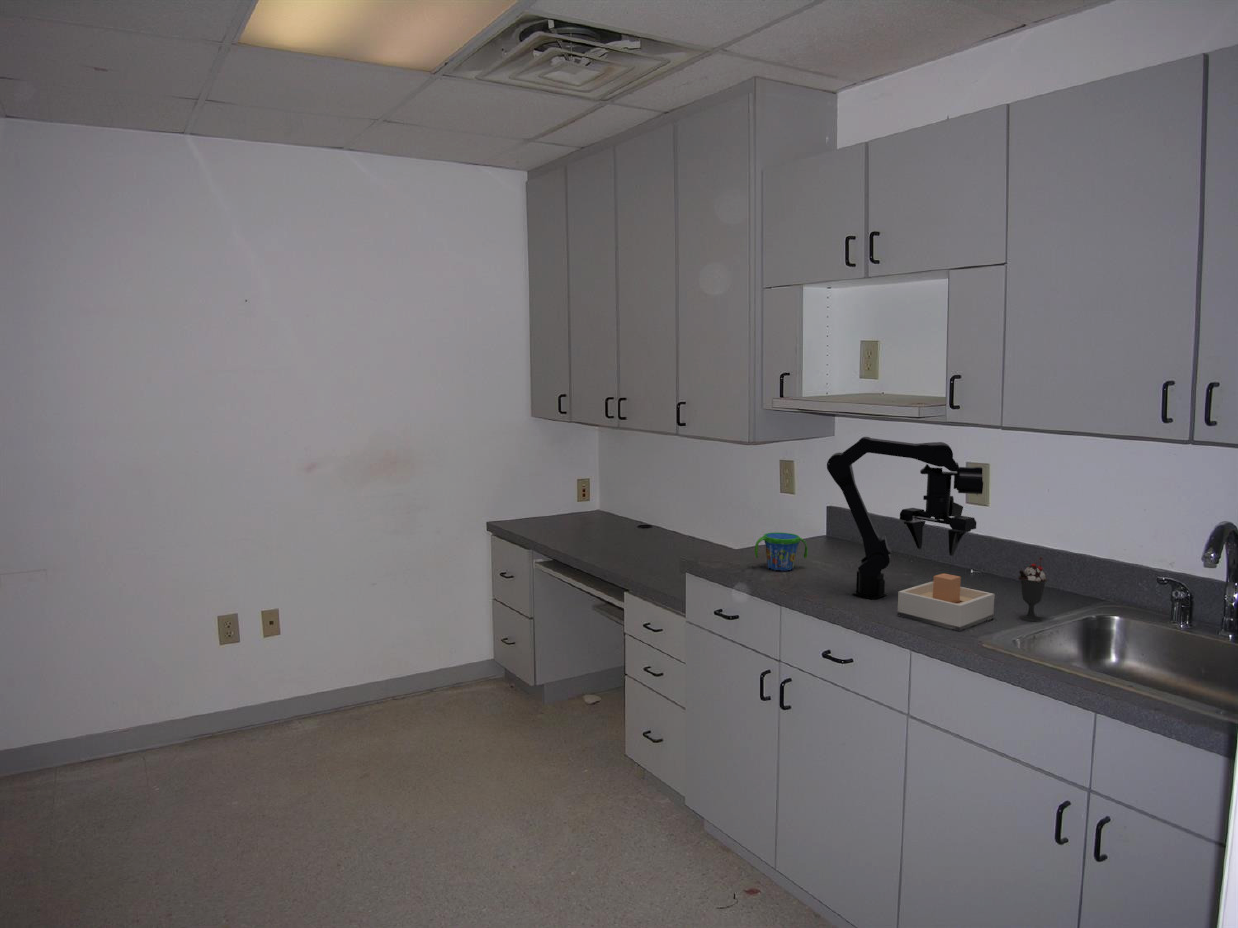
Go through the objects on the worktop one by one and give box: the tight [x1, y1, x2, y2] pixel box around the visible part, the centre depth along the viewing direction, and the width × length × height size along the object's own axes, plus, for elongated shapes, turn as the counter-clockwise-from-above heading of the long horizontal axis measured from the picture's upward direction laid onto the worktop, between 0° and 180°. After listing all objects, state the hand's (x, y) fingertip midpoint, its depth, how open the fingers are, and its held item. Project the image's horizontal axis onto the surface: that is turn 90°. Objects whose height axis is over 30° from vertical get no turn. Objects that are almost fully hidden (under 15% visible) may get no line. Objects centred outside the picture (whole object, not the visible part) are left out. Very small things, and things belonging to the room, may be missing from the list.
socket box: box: [896, 581, 996, 632], centre depth 210 cm, size 16×16×6 cm
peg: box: [933, 573, 962, 604], centre depth 210 cm, size 4×4×9 cm
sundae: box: [1017, 557, 1049, 623], centre depth 208 cm, size 7×7×15 cm
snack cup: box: [754, 531, 809, 572], centre depth 258 cm, size 16×10×10 cm
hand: (935, 552), depth 223 cm, fingers open, 9 cm apart
